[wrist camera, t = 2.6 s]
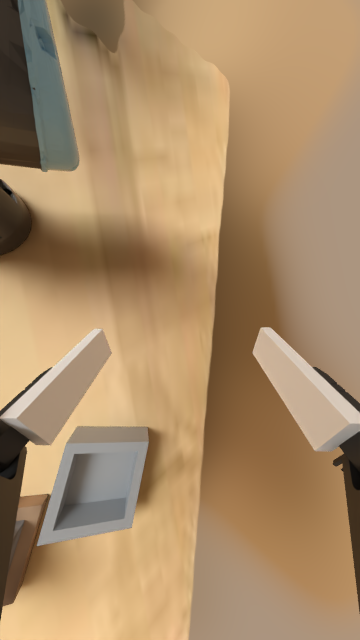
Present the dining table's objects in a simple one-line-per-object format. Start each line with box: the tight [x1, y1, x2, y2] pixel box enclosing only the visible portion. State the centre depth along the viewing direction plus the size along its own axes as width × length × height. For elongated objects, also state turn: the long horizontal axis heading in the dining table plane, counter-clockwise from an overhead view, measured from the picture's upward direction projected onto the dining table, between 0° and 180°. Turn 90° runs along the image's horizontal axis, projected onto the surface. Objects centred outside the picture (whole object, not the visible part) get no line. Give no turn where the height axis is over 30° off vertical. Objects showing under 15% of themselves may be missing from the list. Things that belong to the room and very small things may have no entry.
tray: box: [37, 427, 149, 546], centre depth 23 cm, size 13×13×4 cm
